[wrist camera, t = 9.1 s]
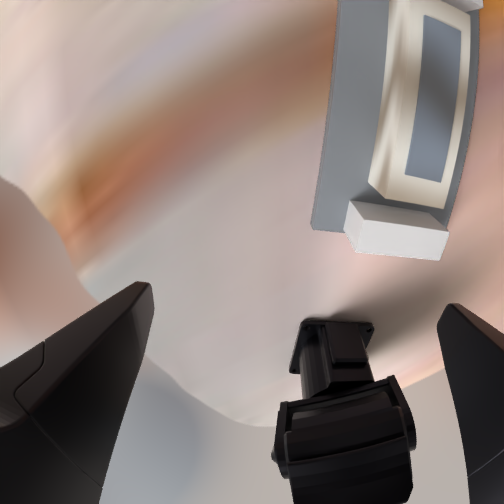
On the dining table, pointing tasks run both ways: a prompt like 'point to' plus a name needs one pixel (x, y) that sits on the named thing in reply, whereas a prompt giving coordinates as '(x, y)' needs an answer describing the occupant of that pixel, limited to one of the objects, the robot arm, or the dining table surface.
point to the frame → (421, 101)
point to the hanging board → (363, 141)
